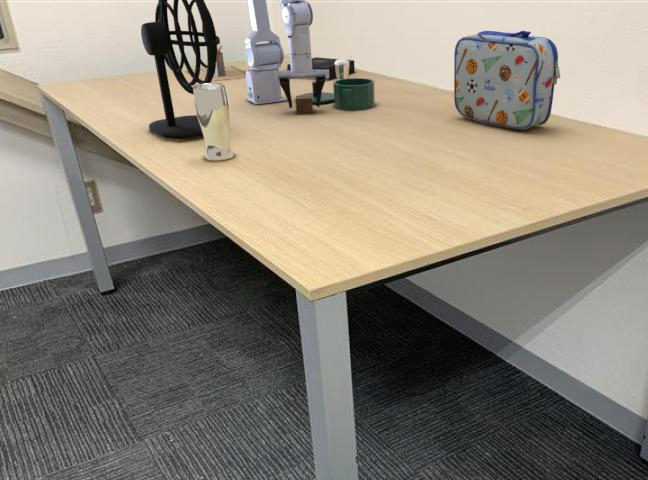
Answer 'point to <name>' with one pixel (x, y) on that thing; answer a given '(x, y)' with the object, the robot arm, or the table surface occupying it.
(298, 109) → the block
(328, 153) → the table surface
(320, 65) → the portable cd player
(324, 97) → the lid
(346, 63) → the milkshake
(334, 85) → the tin
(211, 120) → the beer glass
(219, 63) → the architectural model on board
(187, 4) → the desk fan
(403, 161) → the table surface
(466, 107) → the lunch box
